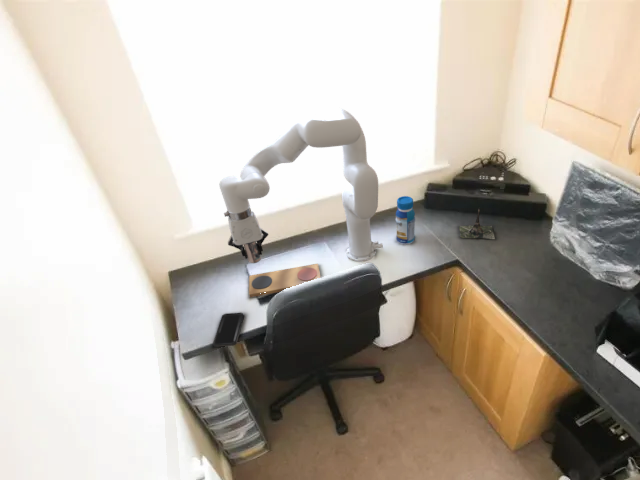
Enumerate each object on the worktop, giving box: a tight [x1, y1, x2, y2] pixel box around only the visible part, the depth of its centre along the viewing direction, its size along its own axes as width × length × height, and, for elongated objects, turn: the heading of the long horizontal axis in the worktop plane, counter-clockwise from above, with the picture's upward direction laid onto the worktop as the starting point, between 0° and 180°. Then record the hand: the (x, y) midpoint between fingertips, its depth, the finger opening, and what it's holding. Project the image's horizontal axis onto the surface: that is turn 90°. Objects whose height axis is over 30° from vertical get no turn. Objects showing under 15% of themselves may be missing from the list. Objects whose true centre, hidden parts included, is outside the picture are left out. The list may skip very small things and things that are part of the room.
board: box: [248, 263, 322, 298], centre depth 165 cm, size 28×12×2 cm, turn 103°
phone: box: [212, 312, 245, 348], centre depth 146 cm, size 8×1×15 cm
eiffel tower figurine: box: [458, 208, 496, 240], centre depth 181 cm, size 15×10×13 cm
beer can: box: [243, 241, 262, 264], centre depth 152 cm, size 5×5×12 cm
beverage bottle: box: [395, 195, 416, 245], centre depth 178 cm, size 8×8×20 cm
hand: (253, 254), depth 154 cm, fingers closed on beer can, 4 cm apart
